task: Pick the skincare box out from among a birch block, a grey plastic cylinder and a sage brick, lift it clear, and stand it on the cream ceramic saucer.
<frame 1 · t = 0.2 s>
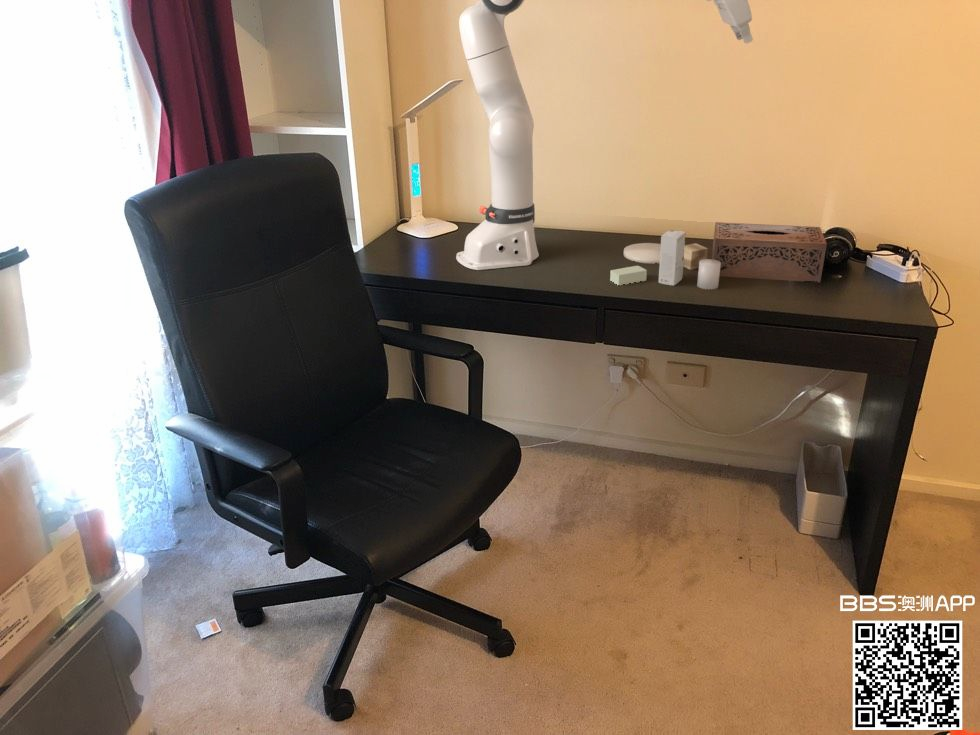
hand: (745, 40, 191), 54 cm above the table, tool tilted 30°, fingers open, 8 cm apart
tissue box cover: (763, 271, 205), on the table
cream saucer: (649, 255, 217), on the table
birch block: (692, 265, 209), on the table
grey plastic cylinder: (707, 285, 195), on the table
skincare box: (669, 281, 199), on the table
sage brick: (628, 281, 200), on the table
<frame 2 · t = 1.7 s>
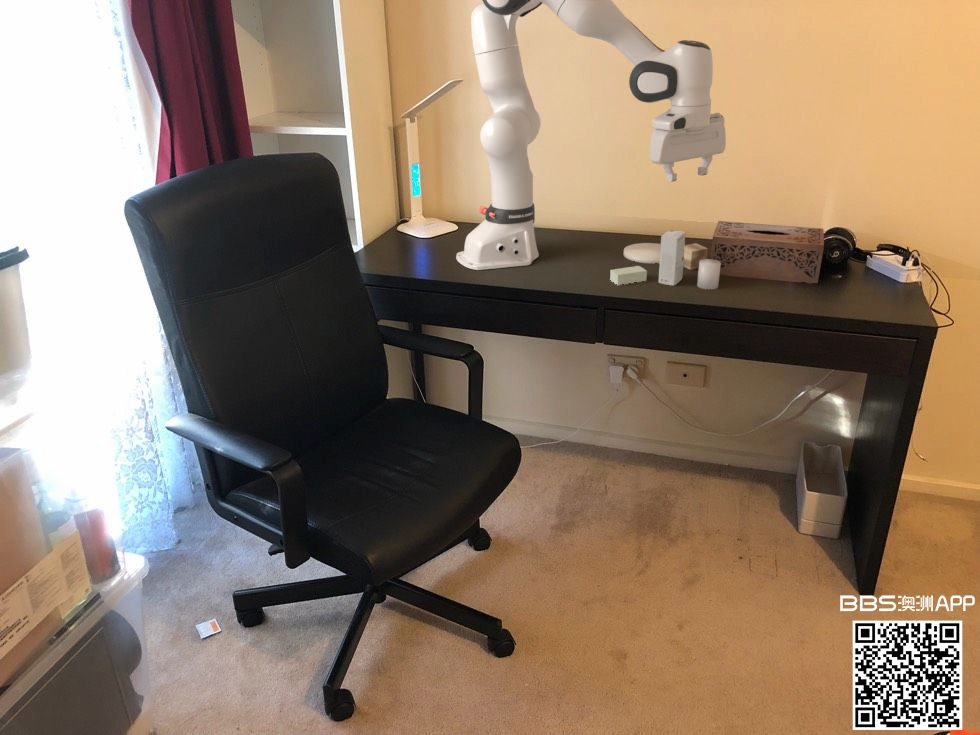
hand: (687, 178, 188), 25 cm above the table, tool pointing down, fingers open, 8 cm apart
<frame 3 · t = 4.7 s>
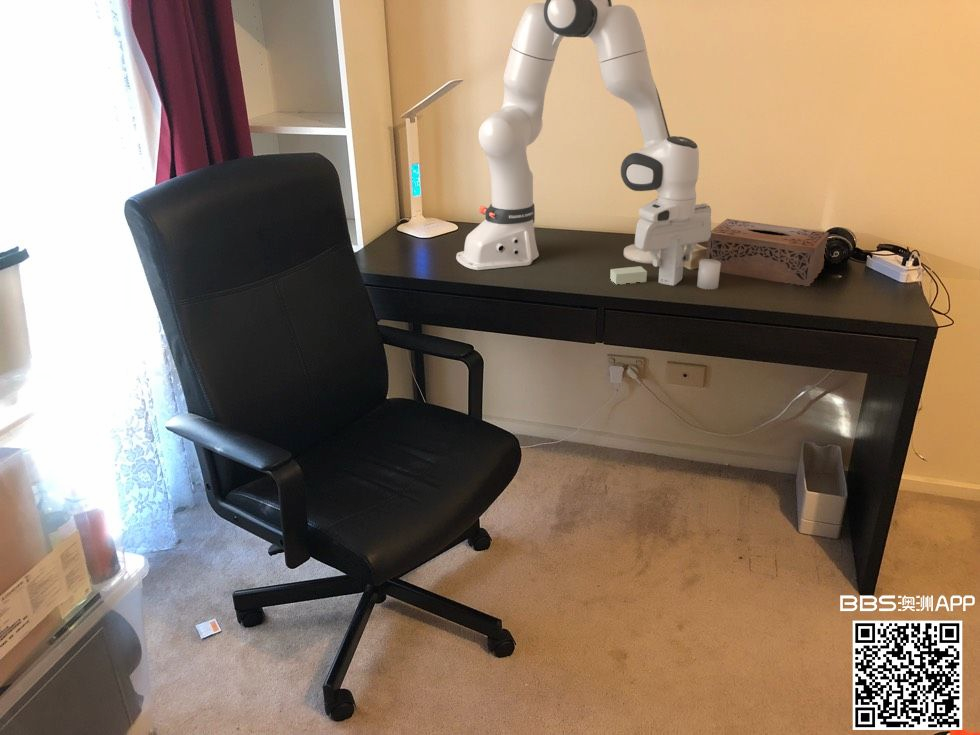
hand: (671, 263, 197), 5 cm above the table, tool pointing down, fingers closed on skincare box, 7 cm apart
skincare box: (669, 281, 199), on the table, touching gripper
when the fingers open (7 cm above the table, at t = 11.4 s): skincare box stays where it is, resting on cream saucer.
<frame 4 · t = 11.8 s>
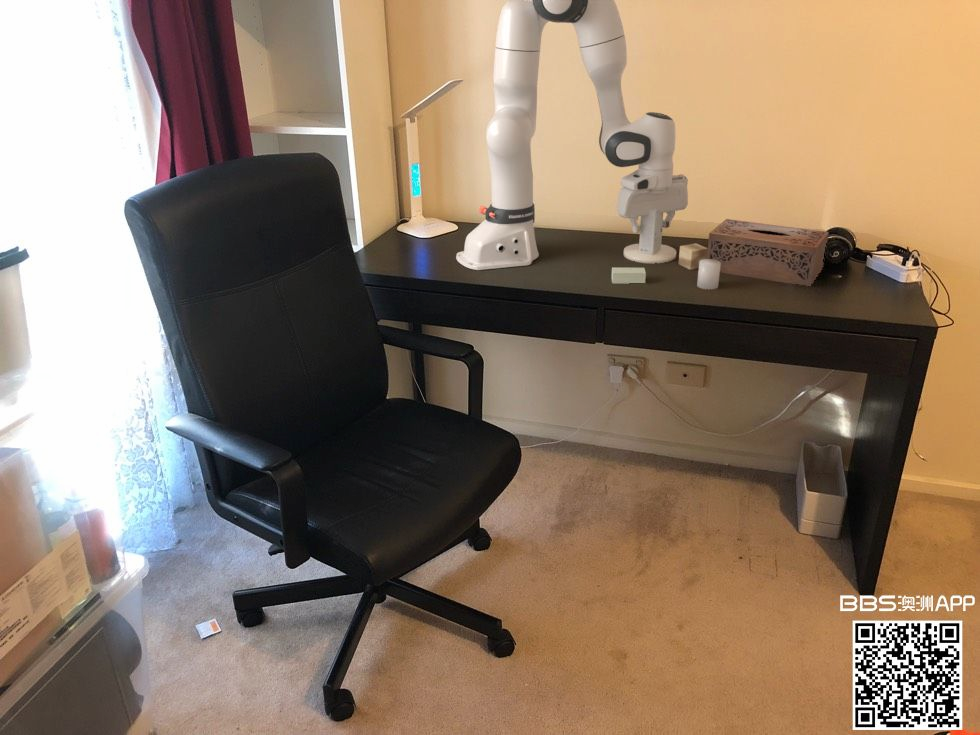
hand: (651, 229, 214), 7 cm above the table, tool pointing down, fingers open, 8 cm apart
skincare box: (649, 251, 216), point 1 cm above the table, touching cream saucer
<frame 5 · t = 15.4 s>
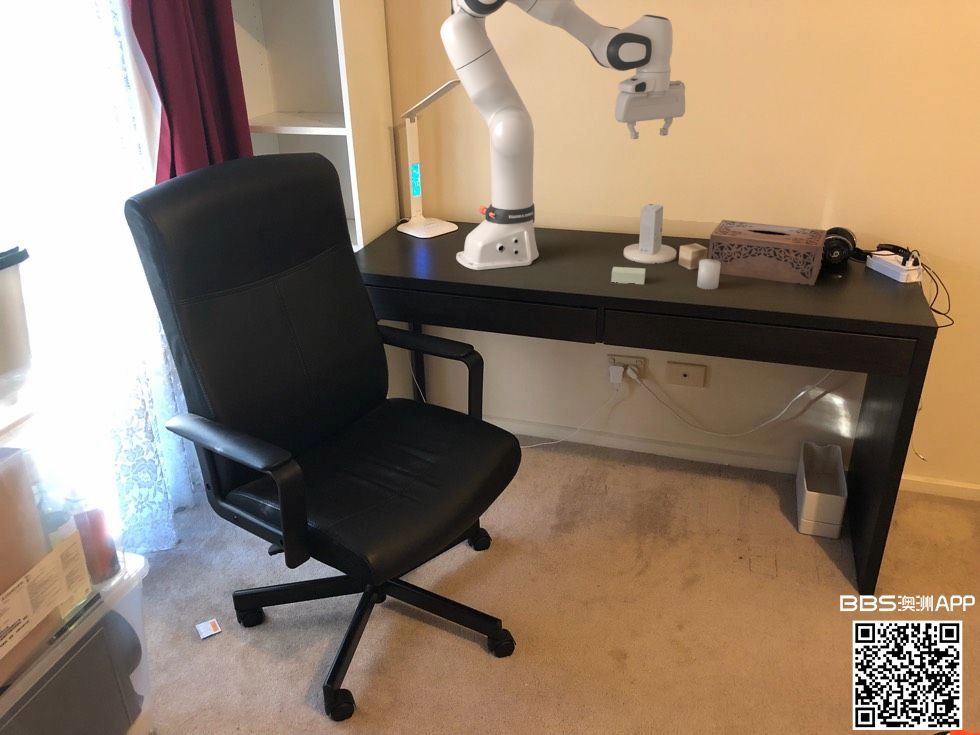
hand: (649, 137, 215), 29 cm above the table, tool pointing down, fingers open, 8 cm apart
at the end: skincare box inside the target area on the cream saucer (0.1 cm from its centre), point 1.0 cm above the cream saucer's base; skincare box tilted 0°; the gripper is holding nothing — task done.
